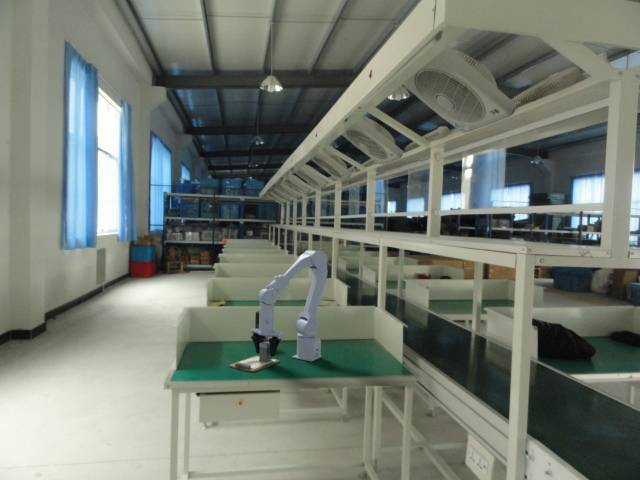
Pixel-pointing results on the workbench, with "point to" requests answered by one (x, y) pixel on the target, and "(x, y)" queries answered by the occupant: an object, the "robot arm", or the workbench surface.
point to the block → (264, 352)
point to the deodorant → (265, 338)
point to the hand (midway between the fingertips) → (265, 354)
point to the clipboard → (253, 364)
